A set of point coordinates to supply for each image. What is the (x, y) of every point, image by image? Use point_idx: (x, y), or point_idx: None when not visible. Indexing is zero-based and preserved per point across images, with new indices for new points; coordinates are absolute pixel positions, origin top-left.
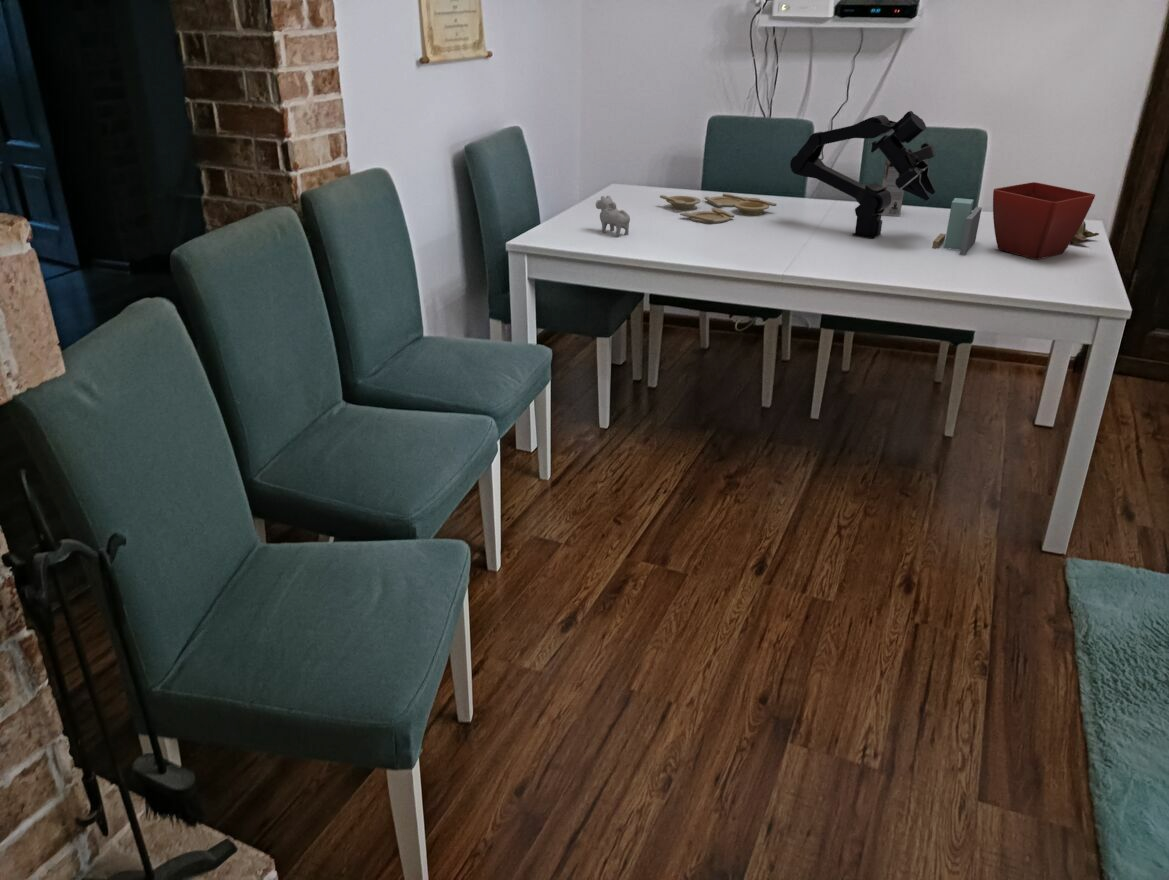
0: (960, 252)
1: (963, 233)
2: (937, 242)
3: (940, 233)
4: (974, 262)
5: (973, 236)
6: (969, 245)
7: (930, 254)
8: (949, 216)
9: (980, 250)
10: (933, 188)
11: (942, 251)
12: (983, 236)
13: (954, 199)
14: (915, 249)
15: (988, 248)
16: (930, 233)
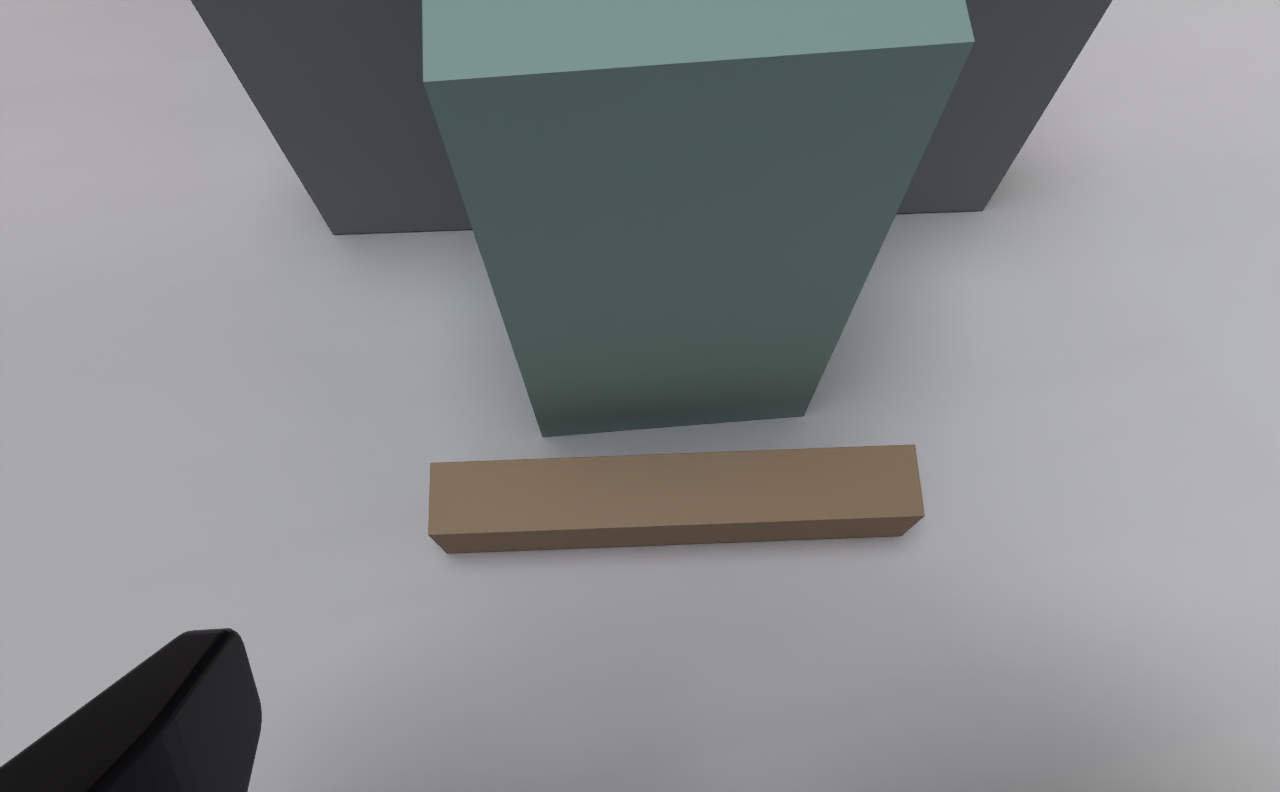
0: (989, 192)
1: (1075, 55)
2: (914, 461)
3: (435, 532)
4: (1190, 34)
5: None
6: None
7: (1206, 480)
8: (887, 223)
9: None
10: (169, 707)
11: (974, 392)
12: (24, 158)
13: (634, 54)
14: (1102, 709)
15: None
16: None
